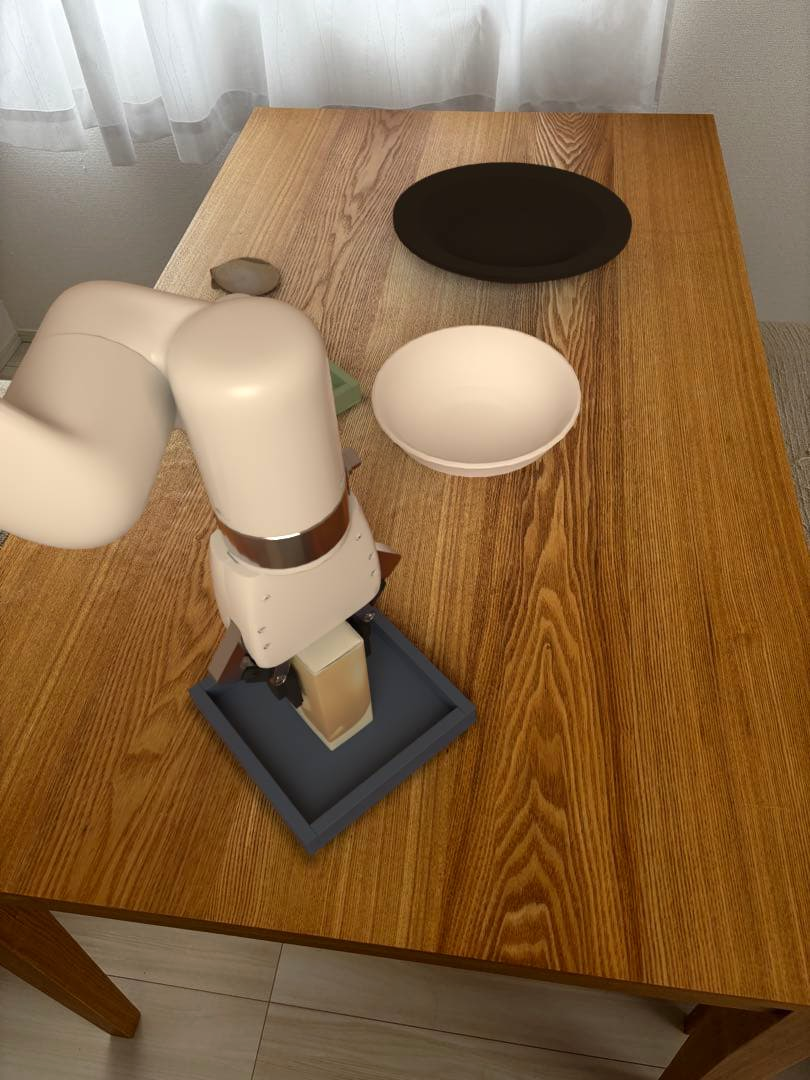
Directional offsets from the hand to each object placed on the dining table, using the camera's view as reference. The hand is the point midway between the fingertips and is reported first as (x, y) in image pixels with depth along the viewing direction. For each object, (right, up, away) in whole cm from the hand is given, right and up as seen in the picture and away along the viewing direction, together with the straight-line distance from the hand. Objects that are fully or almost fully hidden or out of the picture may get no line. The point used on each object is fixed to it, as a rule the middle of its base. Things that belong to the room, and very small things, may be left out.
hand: (322, 666), depth 63 cm
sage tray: (-10, +24, +29) cm, 39 cm away
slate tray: (0, -5, +6) cm, 7 cm away
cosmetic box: (0, -4, +6) cm, 7 cm away
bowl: (+13, +19, +24) cm, 33 cm away
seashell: (-13, +39, +41) cm, 59 cm away
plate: (+19, +44, +43) cm, 64 cm away
